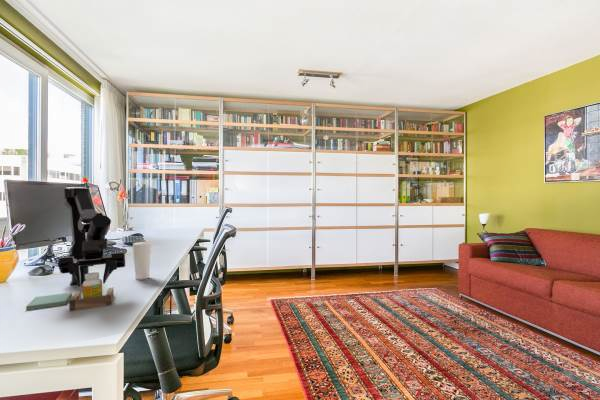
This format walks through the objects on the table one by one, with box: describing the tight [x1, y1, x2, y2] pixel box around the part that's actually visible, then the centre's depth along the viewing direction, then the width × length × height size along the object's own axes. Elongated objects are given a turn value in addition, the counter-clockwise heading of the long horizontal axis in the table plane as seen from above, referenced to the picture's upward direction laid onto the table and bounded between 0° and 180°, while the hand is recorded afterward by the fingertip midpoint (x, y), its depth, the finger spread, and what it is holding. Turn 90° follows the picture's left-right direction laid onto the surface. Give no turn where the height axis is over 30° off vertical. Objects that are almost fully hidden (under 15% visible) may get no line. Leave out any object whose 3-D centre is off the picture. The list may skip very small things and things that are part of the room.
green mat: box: [25, 292, 73, 311], centre depth 105 cm, size 10×10×1 cm
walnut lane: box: [68, 286, 115, 312], centre depth 104 cm, size 10×11×3 cm
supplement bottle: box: [81, 272, 103, 298], centre depth 103 cm, size 5×5×10 cm
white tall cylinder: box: [132, 241, 152, 281], centre depth 134 cm, size 7×7×15 cm
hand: (91, 284), depth 102 cm, fingers open, 6 cm apart
